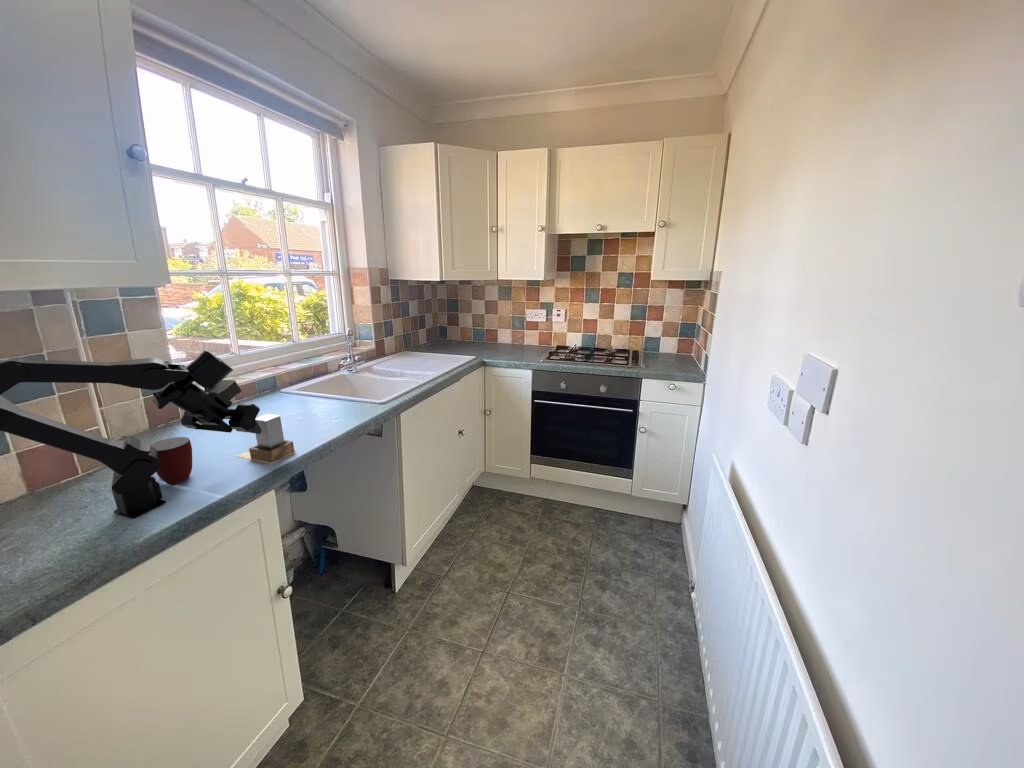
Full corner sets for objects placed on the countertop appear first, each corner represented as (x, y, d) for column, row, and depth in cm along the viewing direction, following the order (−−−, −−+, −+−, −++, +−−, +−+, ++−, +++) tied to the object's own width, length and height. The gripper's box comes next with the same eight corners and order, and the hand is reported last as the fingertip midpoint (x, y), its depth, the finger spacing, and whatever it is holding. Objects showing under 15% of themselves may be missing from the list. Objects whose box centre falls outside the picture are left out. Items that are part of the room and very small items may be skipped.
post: (272, 459, 110) (265, 421, 107) (259, 457, 111) (252, 419, 108) (286, 452, 114) (280, 415, 111) (273, 450, 115) (267, 413, 112)
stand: (271, 465, 108) (269, 453, 107) (235, 458, 112) (232, 446, 111) (297, 452, 115) (295, 440, 114) (262, 446, 119) (260, 434, 118)
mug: (146, 481, 100) (136, 443, 97) (185, 467, 107) (176, 432, 104) (165, 493, 95) (154, 454, 92) (204, 478, 101) (196, 441, 98)
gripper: (245, 371, 94) (289, 404, 106) (182, 371, 98) (232, 403, 111) (221, 414, 88) (270, 444, 101) (155, 411, 92) (210, 440, 105)
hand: (245, 431), depth 105 cm, fingers open, 9 cm apart
